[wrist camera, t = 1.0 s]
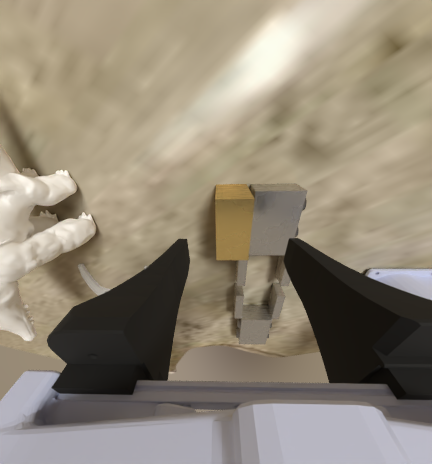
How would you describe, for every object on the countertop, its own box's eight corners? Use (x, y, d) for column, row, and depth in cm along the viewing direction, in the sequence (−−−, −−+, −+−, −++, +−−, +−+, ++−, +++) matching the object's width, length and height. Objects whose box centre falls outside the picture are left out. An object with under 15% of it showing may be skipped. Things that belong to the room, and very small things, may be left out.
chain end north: (279, 283, 23) (285, 297, 21) (267, 329, 29) (271, 344, 27) (234, 283, 23) (236, 297, 21) (232, 329, 29) (233, 343, 27)
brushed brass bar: (246, 183, 16) (254, 199, 12) (242, 235, 19) (248, 260, 15) (216, 184, 16) (215, 199, 12) (217, 235, 19) (216, 260, 15)
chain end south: (306, 183, 16) (319, 190, 14) (282, 273, 22) (289, 287, 20) (240, 184, 16) (243, 191, 14) (235, 272, 22) (237, 287, 20)
